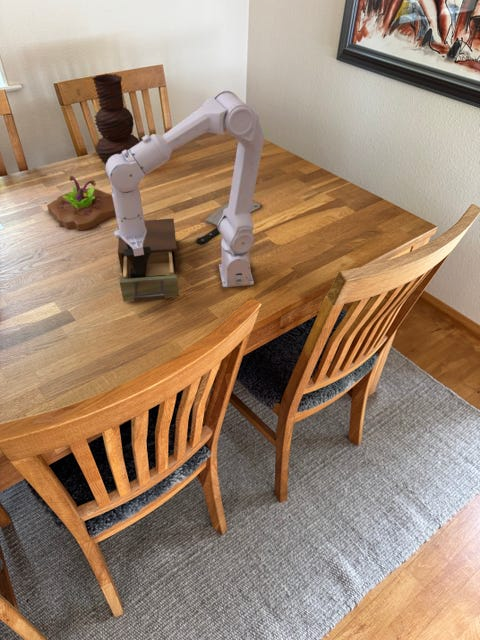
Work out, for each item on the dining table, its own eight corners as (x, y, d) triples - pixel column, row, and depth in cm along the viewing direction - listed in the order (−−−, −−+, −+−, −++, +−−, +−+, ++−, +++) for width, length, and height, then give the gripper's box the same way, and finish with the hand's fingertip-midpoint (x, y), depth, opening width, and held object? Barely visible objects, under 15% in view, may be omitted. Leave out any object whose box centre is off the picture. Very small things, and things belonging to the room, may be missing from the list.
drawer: (180, 312, 109) (178, 293, 105) (122, 317, 108) (118, 298, 104) (175, 263, 123) (173, 245, 119) (124, 267, 121) (121, 249, 117)
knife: (132, 283, 115) (130, 273, 113) (132, 277, 117) (130, 267, 114) (168, 280, 116) (166, 270, 114) (167, 275, 118) (166, 264, 115)
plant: (90, 189, 154) (83, 156, 146) (129, 209, 145) (123, 175, 137) (38, 213, 142) (26, 179, 135) (76, 236, 134) (67, 201, 126)
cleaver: (177, 234, 135) (203, 246, 130) (177, 232, 134) (203, 244, 130) (238, 196, 152) (263, 205, 147) (238, 194, 151) (263, 204, 147)
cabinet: (179, 272, 122) (176, 248, 117) (122, 277, 120) (117, 253, 115) (175, 241, 132) (173, 218, 127) (124, 245, 130) (119, 222, 125)
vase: (92, 175, 161) (71, 82, 141) (113, 157, 172) (97, 68, 151) (132, 181, 158) (117, 88, 137) (151, 162, 169) (140, 73, 148)
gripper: (106, 199, 102) (116, 249, 112) (115, 233, 93) (125, 285, 102) (137, 194, 104) (145, 244, 114) (150, 227, 94) (157, 279, 104)
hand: (138, 263), depth 108 cm, fingers open, 7 cm apart
